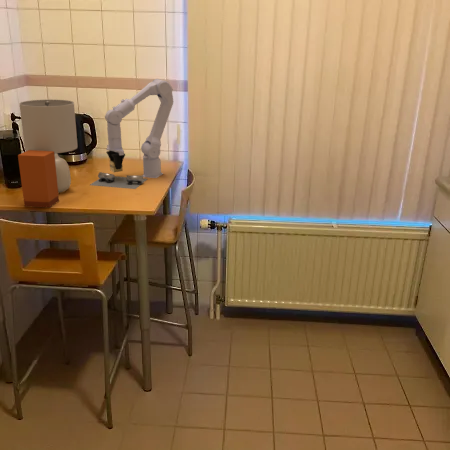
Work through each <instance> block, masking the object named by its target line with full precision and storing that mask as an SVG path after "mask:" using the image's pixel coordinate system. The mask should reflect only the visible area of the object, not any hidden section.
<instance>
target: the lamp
mask: <svg viewBox="0 0 450 450" xmlns="http://www.w3.org/2000/svg"><path fill="white" fill-rule="evenodd" d="M19 111H20V112H19V113H20V119H21V128H22V135H23V136H22V137H23V138H22V139H23V145H24V150H25V152H26V151H28V150H38V151H54V155H55V165H56V175H57V185H58V194H60V193H63V192H65V191H67V190H68V189H70V186H71V183H72V178H71V170H70V167H69V164H68V163H67V161H66V160H65V159H64V158H62V157H60V156H59V154H62V153H67V152H72V151H75V150H77V149H78V138H77V136H78V135H77V124H76V113H75V111H76V110H75V102H74V101H71V100H67V99H65V100H64V99H34V100H33V99H32V100H25V101H20V102H19Z"/></svg>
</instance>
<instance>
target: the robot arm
mask: <svg viewBox="0 0 450 450" xmlns="http://www.w3.org/2000/svg"><path fill="white" fill-rule="evenodd" d="M173 90H174V89H173V87H172V86H171V84H170V82H169V81H167V80H164V79H160V78H155V79H153V80H152V81H151V82H148V83H147V84H146V85H145V86H144V87H143V88H142V89H140V90H139V91H138V92H137V93H136V94H134V95H133V96H132V97H131V98H125V99H121V100H120V103H118V104H117V105H115V106H113V107H112V109H109V110H107V111H106V113H105V115H104V119H105V120H106V126H107V127H106V129H107V141H108V144H106V149H105V150H106V154H107V156H108V158H109V160H114V161H115V166H116V169H121V167H122V166H123V161H124V158H125V156H126V153H125V151H124V149H123V147H122V146H123V145H122V131H121V130H122V129H121V128H122V127H121V122H122V119H124V118H125V117H127V116H128V115H129V114H130V113H132V112H133V111H134V110H135V108H136V105H138V104H139V103H140V102H143V100H145V99H146V98H148V97H150V96H156V97H158V100H159V101H160V103H159V104H160V105H159V107H158V110H157V112H156V117H155V119H154V121H153V124H152V127H151V129H150V133H149V135H148V136H147V137H146V139H145V141H144V142H143V143H142V144H141V147H140V149H141V152H142V154H143V156H142V165H143V166H142V167H143V168H142V169H143V174H141V176H143V178H149V179H150V178H152V179H158V178H159V177H160V176H162V175H163V174H164V173H163V172H162V163H161V162H162V161H161V158H160V156H161V146H162V143H161V138H162V136H163V133H164V131H165V128H166V125H167V122H168V119H169V118H170V117H169V116H170V113H171V110H172V108H173V106H174V96H173ZM122 168H123V167H122Z"/></svg>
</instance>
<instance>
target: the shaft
mask: <svg viewBox="0 0 450 450" xmlns="http://www.w3.org/2000/svg"><path fill="white" fill-rule="evenodd" d="M115 176H116V175H115V174H113V173H107V172H102V171H100V172H98V174H97V177H98V179H99V182H103V181H106V180H107V181H106V183H111V182H114V181H115Z"/></svg>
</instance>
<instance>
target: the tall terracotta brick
mask: <svg viewBox="0 0 450 450" xmlns="http://www.w3.org/2000/svg"><path fill="white" fill-rule="evenodd" d="M17 158H18V159H17V160H18V167H19V174H20V181H21V182H20V183H21V189H22V196H23V197H22V198H23V204H24V205H23V206H24V207H30V206H32V207H31V208H48V209H49V208H51V207H53V206H54V205H56V204H57V203H58V202H59V201H60V196H59V193H58V185H57V175H56V165H55V155H54V151H38V150H28V151H26V150H25V151H23V152H22V153H19V154H18V155H17ZM56 202H57V203H56ZM52 205H53V206H52Z"/></svg>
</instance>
